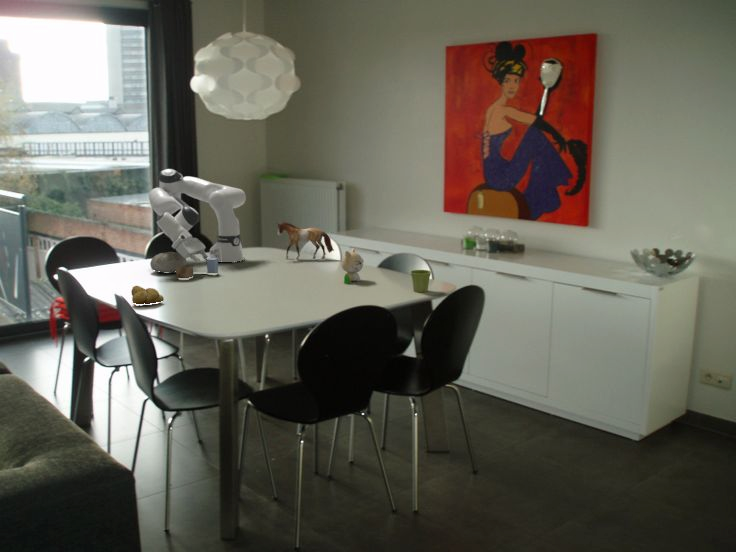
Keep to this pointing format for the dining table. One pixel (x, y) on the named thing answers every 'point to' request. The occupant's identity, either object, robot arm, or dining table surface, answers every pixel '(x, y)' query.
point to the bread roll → (145, 295)
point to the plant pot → (420, 280)
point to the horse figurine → (305, 237)
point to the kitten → (352, 266)
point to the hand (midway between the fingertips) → (202, 259)
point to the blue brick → (212, 265)
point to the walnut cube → (184, 271)
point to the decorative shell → (167, 262)
